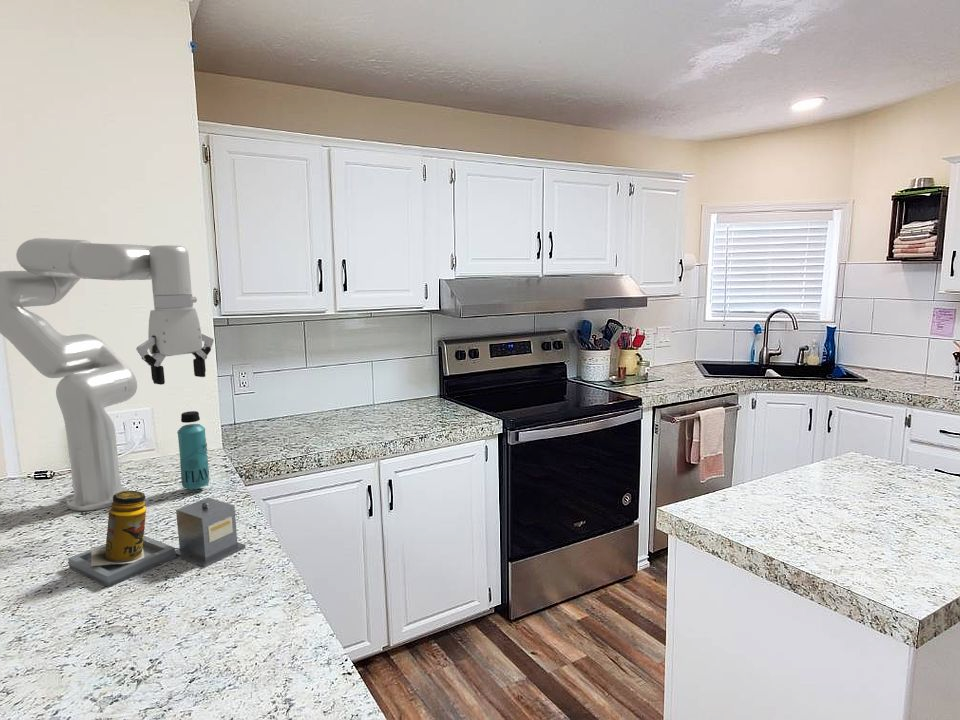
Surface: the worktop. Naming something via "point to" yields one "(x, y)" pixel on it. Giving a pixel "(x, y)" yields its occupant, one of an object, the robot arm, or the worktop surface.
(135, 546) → the condiment
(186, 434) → the beverage bottle
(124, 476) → the worktop surface
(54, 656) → the worktop surface
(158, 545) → the tray
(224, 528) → the block
